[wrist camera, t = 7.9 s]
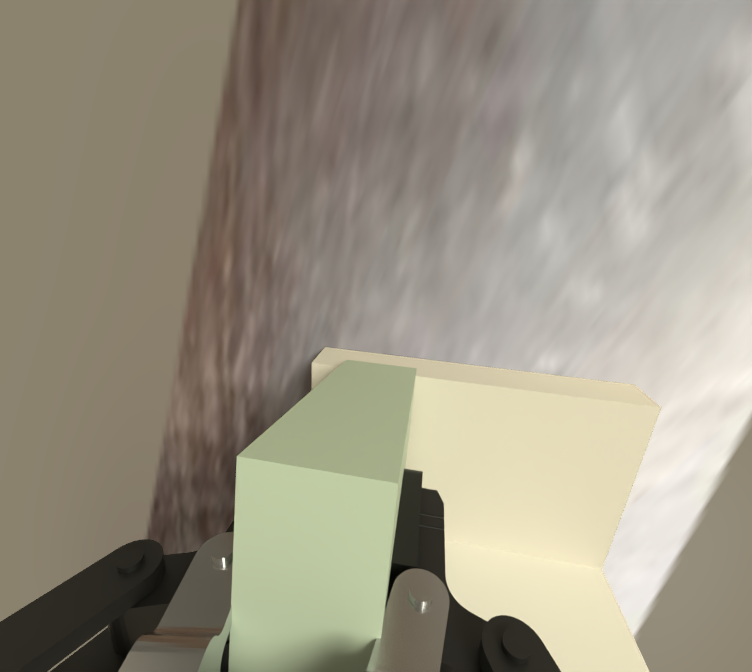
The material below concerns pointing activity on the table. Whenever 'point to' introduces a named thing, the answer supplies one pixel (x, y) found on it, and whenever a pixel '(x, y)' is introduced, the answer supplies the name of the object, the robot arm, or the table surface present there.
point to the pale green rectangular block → (320, 524)
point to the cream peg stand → (528, 494)
